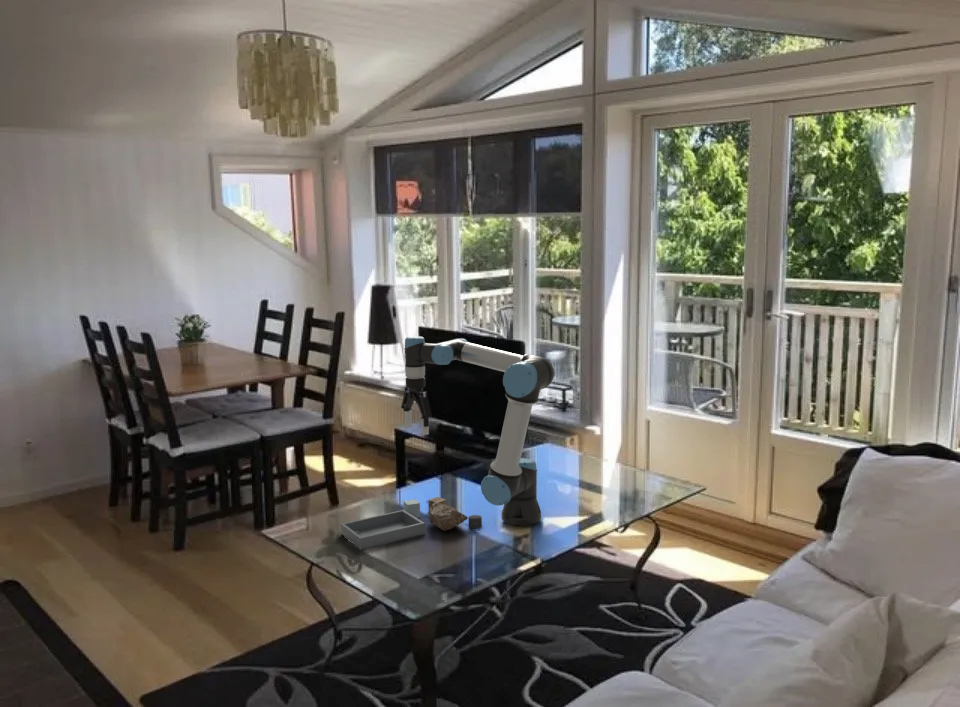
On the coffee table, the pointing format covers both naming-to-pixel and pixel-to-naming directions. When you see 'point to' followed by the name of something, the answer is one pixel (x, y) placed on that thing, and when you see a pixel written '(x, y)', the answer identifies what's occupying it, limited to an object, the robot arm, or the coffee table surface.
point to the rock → (445, 516)
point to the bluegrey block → (412, 507)
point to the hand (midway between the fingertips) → (416, 431)
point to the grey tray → (383, 529)
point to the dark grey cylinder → (475, 521)
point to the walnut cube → (437, 499)
